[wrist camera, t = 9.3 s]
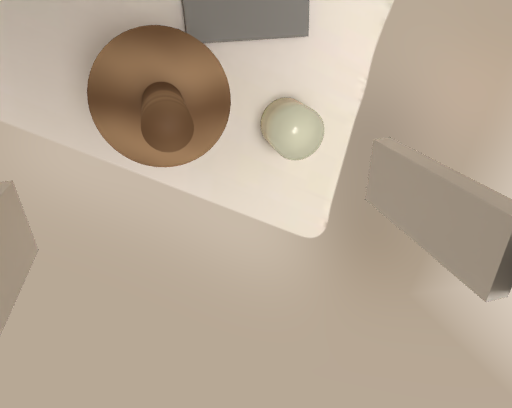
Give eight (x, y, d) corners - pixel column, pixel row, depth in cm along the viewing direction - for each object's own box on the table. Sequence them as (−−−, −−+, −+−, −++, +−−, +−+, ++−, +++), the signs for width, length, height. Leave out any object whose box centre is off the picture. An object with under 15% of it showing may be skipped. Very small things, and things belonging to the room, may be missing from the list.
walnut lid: (70, 30, 26) (42, 36, 19) (221, 20, 28) (248, 23, 21) (108, 171, 31) (97, 219, 24) (233, 153, 33) (257, 192, 26)
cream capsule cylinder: (259, 100, 42) (272, 110, 38) (307, 95, 43) (325, 104, 39) (261, 149, 45) (273, 163, 41) (306, 143, 46) (322, 156, 42)
